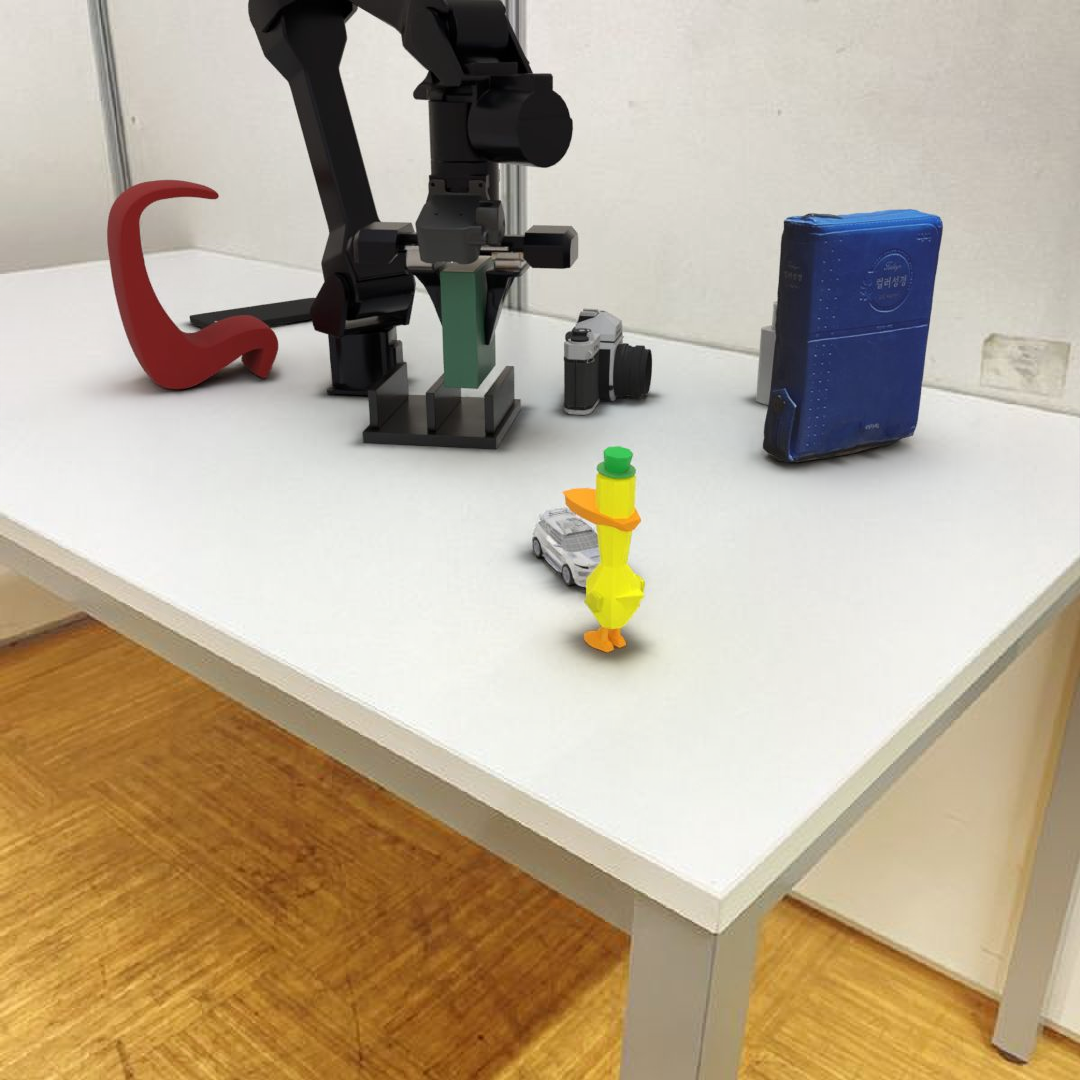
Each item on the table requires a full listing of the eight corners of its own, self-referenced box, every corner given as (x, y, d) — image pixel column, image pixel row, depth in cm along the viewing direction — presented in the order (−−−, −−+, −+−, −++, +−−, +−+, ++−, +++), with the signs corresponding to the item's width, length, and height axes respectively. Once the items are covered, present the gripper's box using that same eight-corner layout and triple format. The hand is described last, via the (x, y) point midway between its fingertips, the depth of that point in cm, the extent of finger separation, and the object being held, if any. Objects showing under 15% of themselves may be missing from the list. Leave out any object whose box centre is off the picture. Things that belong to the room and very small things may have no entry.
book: (790, 473, 92) (812, 220, 84) (749, 454, 96) (767, 211, 88) (921, 446, 98) (954, 207, 90) (878, 429, 102) (906, 200, 94)
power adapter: (752, 400, 111) (761, 277, 106) (789, 390, 114) (799, 270, 109) (776, 407, 109) (786, 281, 104) (813, 397, 112) (825, 275, 107)
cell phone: (348, 314, 147) (347, 307, 147) (217, 335, 137) (216, 327, 136) (315, 303, 153) (314, 296, 153) (188, 322, 143) (187, 315, 143)
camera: (639, 420, 105) (645, 323, 102) (557, 414, 107) (560, 318, 104) (654, 392, 117) (659, 305, 114) (580, 387, 119) (583, 301, 116)
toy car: (576, 596, 71) (577, 552, 70) (526, 549, 78) (526, 509, 77) (628, 585, 73) (629, 542, 72) (574, 540, 79) (574, 500, 78)
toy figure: (543, 628, 67) (543, 437, 63) (589, 611, 69) (592, 424, 65) (619, 673, 62) (625, 469, 58) (666, 653, 64) (675, 455, 60)
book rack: (363, 442, 100) (359, 393, 98) (400, 403, 110) (397, 358, 109) (496, 449, 98) (495, 398, 96) (520, 409, 109) (520, 363, 107)
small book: (444, 387, 98) (439, 270, 94) (464, 364, 106) (461, 254, 102) (477, 389, 98) (475, 271, 94) (495, 365, 105) (493, 255, 101)
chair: (138, 396, 113) (107, 189, 105) (126, 379, 119) (94, 181, 111) (283, 377, 120) (264, 180, 112) (264, 361, 125) (244, 173, 117)
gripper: (325, 167, 88) (340, 362, 95) (561, 170, 86) (560, 371, 92) (368, 155, 99) (378, 332, 105) (580, 157, 96) (578, 339, 102)
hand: (469, 343), depth 101 cm, fingers closed on small book, 3 cm apart
